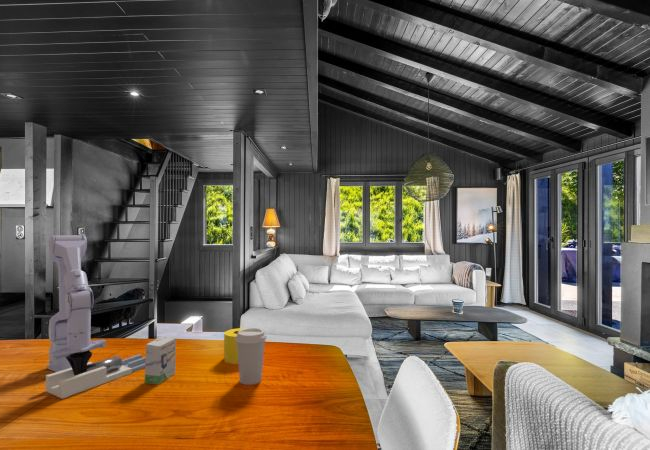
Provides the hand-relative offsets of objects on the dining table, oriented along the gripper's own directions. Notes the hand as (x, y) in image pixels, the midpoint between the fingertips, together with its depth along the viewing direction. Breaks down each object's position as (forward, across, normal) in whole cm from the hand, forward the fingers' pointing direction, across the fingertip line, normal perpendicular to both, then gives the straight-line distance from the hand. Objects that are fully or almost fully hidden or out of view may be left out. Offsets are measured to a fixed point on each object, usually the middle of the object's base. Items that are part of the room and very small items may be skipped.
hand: (78, 377), depth 107 cm
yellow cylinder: (+3, +41, -25) cm, 48 cm away
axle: (-1, +6, -1) cm, 7 cm away
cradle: (+2, +18, 0) cm, 18 cm away
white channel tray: (+2, +4, 0) cm, 4 cm away
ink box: (+3, +16, -16) cm, 23 cm away
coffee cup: (+3, +29, -41) cm, 50 cm away
